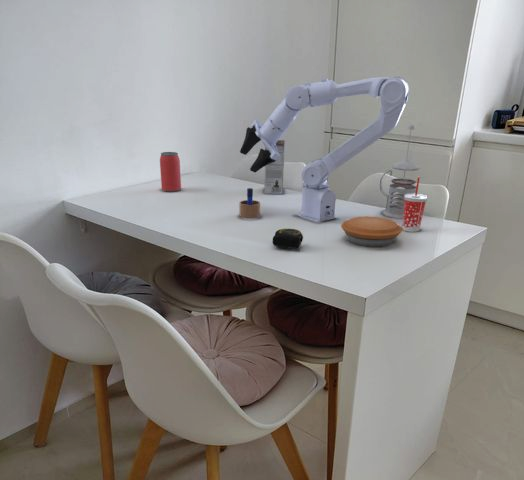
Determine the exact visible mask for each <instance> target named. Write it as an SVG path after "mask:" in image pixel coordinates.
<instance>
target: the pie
mask: <svg viewBox="0 0 524 480" xmlns="http://www.w3.org/2000/svg"><path fill="white" fill-rule="evenodd" d="M402 227H403V226H401V225H399V224H398V223H397V222H395V221H394V220H392V219H388V218H384V217H380V216H369V215H367V216H365V215H364V216H355V217H351V218H349V219H347V220H344V221H343V222H342V223H341V225H340V228H341V229H342V231H344V234H345V236H346V238H347V240H348V241H349V242H350V243H352V244H355V245H357V246H362V247H367V248H368V247H369V248H380V247H381V248H382V247H387V246H389V245H392V243H394V241H395V240H396V238H397V237H398V236H400V234H401V233H402V232H404V230H403V229H402Z"/></svg>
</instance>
